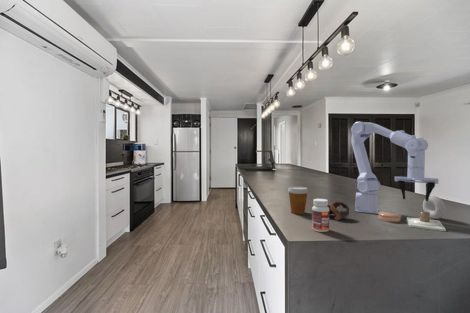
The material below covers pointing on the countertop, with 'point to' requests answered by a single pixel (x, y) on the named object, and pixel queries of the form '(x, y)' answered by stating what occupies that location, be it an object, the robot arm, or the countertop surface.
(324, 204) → the pill bottle
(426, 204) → the white tape roll
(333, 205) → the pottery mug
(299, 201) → the disposable coffee cup
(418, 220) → the lid
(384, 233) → the countertop surface
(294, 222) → the countertop surface
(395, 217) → the orange round disc
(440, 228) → the mat
